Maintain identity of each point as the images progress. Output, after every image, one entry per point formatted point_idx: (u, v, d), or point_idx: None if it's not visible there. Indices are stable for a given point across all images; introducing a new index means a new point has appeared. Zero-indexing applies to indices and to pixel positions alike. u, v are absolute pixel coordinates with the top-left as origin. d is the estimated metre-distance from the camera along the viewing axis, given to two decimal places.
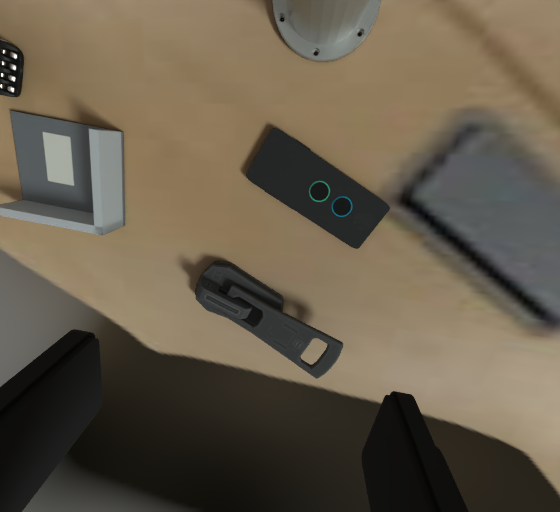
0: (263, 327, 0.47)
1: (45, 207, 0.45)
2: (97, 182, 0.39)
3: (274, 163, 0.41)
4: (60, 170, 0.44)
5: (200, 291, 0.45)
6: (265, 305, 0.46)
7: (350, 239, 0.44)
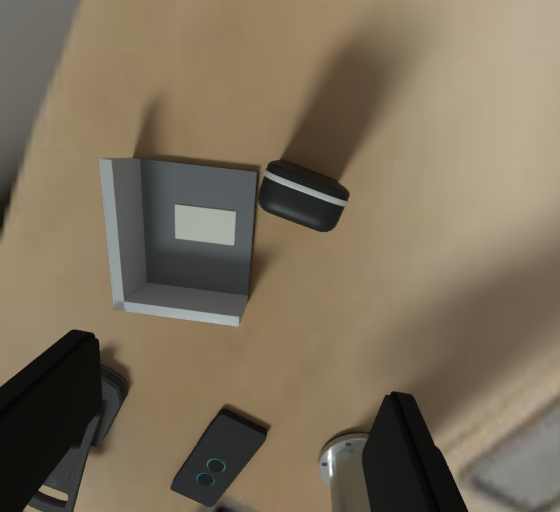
0: None
1: (135, 205, 0.32)
2: (179, 314, 0.32)
3: (236, 436, 0.44)
4: (191, 223, 0.34)
5: None
6: (87, 449, 0.43)
7: (177, 484, 0.49)
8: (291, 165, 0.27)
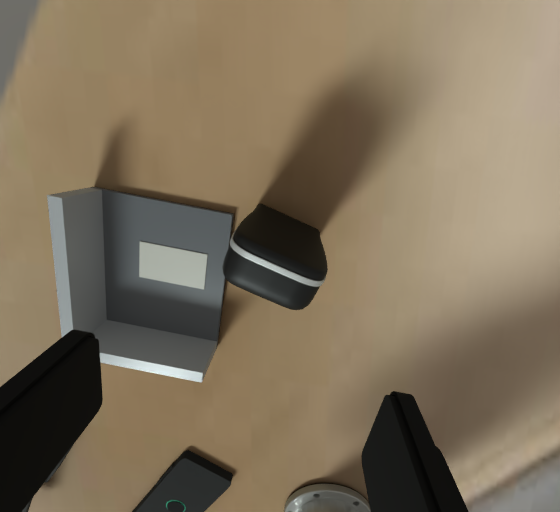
0: None
1: (93, 241, 0.29)
2: (136, 365, 0.29)
3: (198, 479, 0.41)
4: (157, 263, 0.31)
5: None
6: None
7: None
8: (267, 220, 0.23)
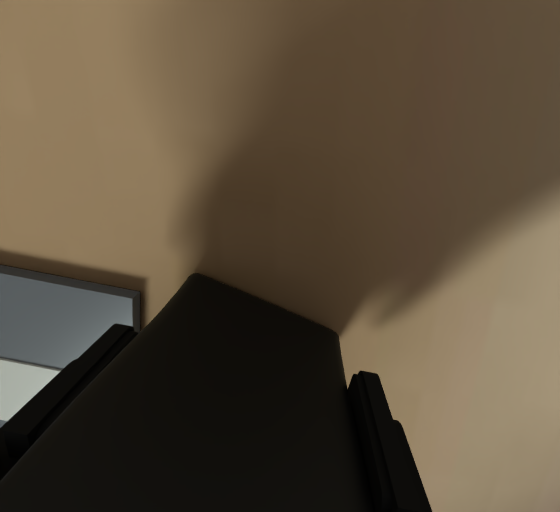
0: None
1: None
2: None
3: None
4: None
5: None
6: None
7: None
8: (180, 373, 0.07)
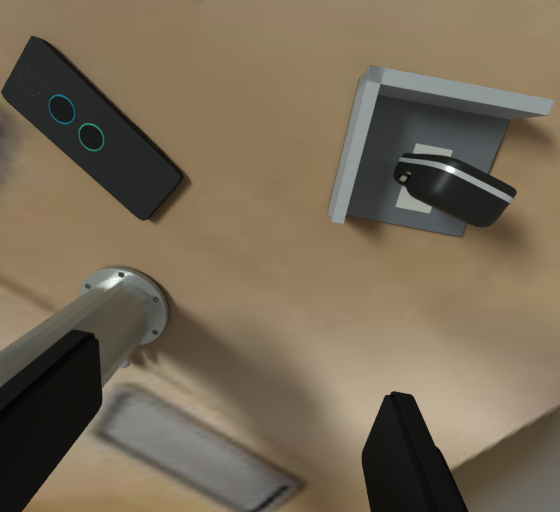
0: None
1: (471, 109, 0.29)
2: (353, 156, 0.28)
3: (144, 184, 0.35)
4: None
5: None
6: None
7: (44, 54, 0.31)
8: None
